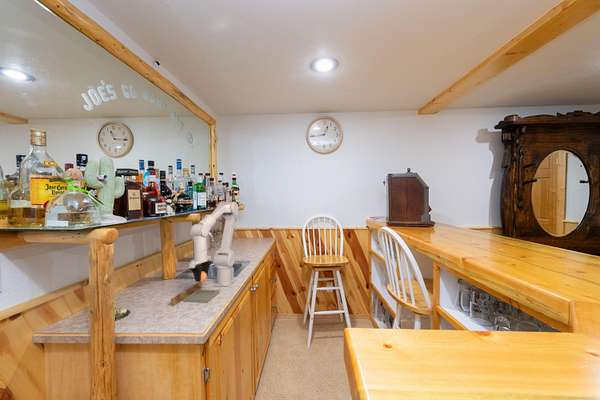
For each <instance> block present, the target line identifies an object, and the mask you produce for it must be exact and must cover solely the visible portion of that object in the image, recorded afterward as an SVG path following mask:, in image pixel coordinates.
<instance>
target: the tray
mask: <svg viewBox="0 0 600 400" xmlns="http://www.w3.org/2000/svg"><path fill="white" fill-rule="evenodd" d="M219 294H220V289H202V288H200V289H198V290H197V291H195V292H194V293H192V294H191V295H189V296H188V297H186V298H185V299H184V302H185V303H198V304H199V303H200V304H201V303H203V304H205V303H206V304H208V303H209V302H210V301H212V300H213V299H214V298H215V297H216V296H218V295H219Z"/></svg>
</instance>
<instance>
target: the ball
mask: <svg viewBox="0 0 600 400" xmlns="http://www.w3.org/2000/svg"><path fill="white" fill-rule="evenodd" d="M207 279H208V275H207V274H206V273H205V272H203V271H202V272H201V281H200V283H202V284H203V283H204V282H205V281H206V280H207Z"/></svg>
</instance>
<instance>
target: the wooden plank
mask: <svg viewBox="0 0 600 400" xmlns="http://www.w3.org/2000/svg"><path fill="white" fill-rule="evenodd" d="M202 287H203V282H202V283H200V282H196V283H195V284H193V285H192V286H189V287H188V288H187V289H185V290H183V291H182V292H180V293H179V294H177V295H175V296H174V297H172V298H170V304H171V307H175V306H176V305H178V304H179V303H181V302H182V301H183V300H184V299H185V298H186V297H188V296H189V295H191V294H192V293H194V292H195V291H197V290H198V289H202Z"/></svg>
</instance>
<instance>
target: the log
mask: <svg viewBox="0 0 600 400" xmlns="http://www.w3.org/2000/svg"><path fill="white" fill-rule="evenodd" d="M114 306H115V305H114ZM130 313H132V312H131V310H129V309H127V308H126V307H122V306H115V321H114V322H116V321H119V320H121V319H124V318H126V317H128V316H129V315H130Z"/></svg>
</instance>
